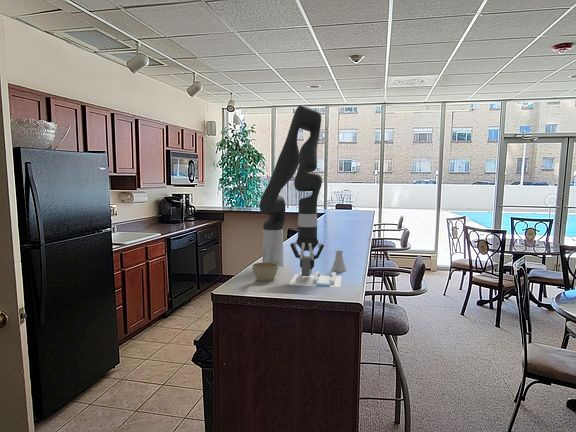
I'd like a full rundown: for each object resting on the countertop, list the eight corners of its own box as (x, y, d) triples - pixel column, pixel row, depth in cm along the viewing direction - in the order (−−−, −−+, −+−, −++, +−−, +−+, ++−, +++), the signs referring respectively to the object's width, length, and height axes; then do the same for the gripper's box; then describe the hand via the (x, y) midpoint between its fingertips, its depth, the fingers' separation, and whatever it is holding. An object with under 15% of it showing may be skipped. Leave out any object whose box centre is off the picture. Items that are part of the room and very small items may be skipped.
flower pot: (268, 287, 149) (268, 268, 148) (247, 283, 154) (247, 265, 153) (282, 281, 157) (282, 263, 156) (262, 278, 162) (262, 261, 162)
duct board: (288, 288, 147) (288, 279, 146) (295, 277, 163) (295, 269, 162) (340, 291, 144) (340, 281, 143) (341, 279, 159) (341, 271, 159)
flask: (336, 276, 165) (336, 253, 164) (327, 272, 171) (327, 250, 170) (350, 274, 168) (351, 251, 167) (340, 271, 174) (341, 248, 173)
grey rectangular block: (301, 276, 150) (301, 257, 150) (304, 272, 159) (305, 255, 159) (309, 276, 150) (309, 258, 150) (312, 272, 159) (312, 255, 158)
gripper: (326, 224, 155) (325, 267, 157) (291, 223, 158) (291, 265, 159) (324, 226, 148) (324, 271, 150) (288, 225, 150) (287, 270, 152)
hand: (307, 268), depth 155 cm, fingers closed on grey rectangular block, 2 cm apart
